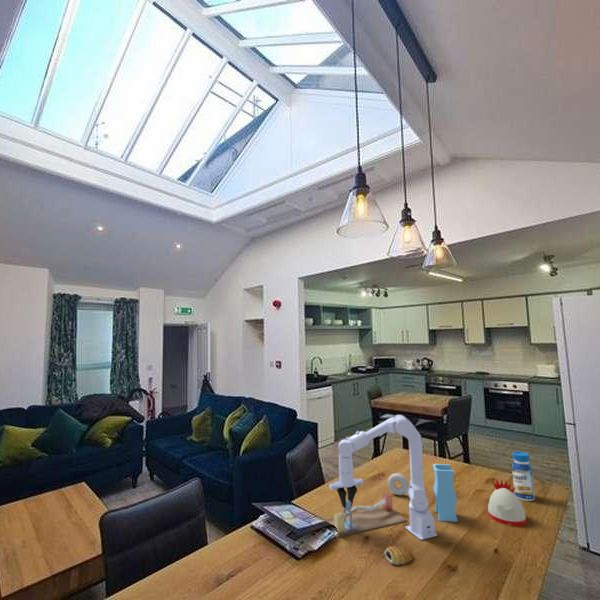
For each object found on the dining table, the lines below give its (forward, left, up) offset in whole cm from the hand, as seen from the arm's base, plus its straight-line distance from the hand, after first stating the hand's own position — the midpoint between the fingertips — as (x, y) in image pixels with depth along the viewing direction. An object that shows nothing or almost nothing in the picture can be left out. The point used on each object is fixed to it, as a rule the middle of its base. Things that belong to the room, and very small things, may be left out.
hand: (347, 506), depth 141 cm
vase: (-8, -43, -8) cm, 45 cm away
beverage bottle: (-8, -90, -8) cm, 91 cm away
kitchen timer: (-18, -66, -9) cm, 69 cm away
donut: (+17, -37, -8) cm, 42 cm away
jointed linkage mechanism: (+1, -9, -8) cm, 12 cm away
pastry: (-24, -7, -9) cm, 27 cm away
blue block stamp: (0, 0, -8) cm, 8 cm away
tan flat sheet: (+1, -9, -8) cm, 12 cm away
